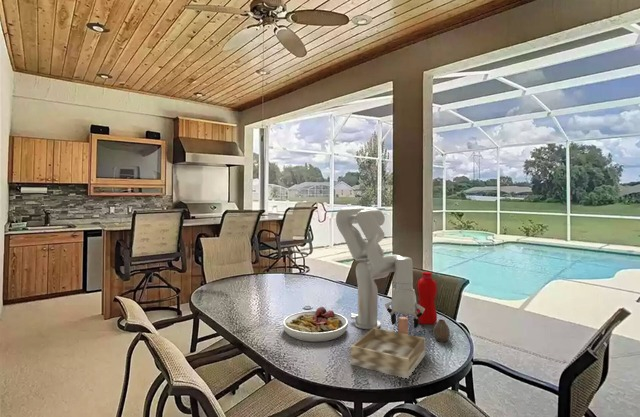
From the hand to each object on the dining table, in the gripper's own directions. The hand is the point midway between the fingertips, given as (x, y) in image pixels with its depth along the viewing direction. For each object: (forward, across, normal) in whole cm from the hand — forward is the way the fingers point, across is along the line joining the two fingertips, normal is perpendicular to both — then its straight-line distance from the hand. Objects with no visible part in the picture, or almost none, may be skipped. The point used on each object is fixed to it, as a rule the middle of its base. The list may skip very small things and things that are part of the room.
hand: (404, 325), depth 162 cm
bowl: (+6, -40, -8) cm, 41 cm away
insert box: (+7, 0, -20) cm, 21 cm away
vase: (+8, +13, +10) cm, 18 cm away
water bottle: (+7, +1, +30) cm, 31 cm away
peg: (+7, -1, 0) cm, 7 cm away
